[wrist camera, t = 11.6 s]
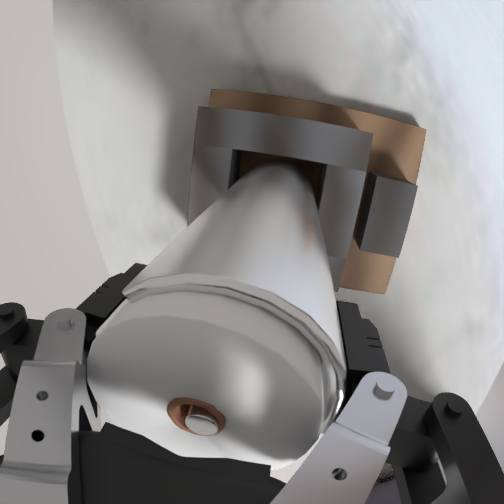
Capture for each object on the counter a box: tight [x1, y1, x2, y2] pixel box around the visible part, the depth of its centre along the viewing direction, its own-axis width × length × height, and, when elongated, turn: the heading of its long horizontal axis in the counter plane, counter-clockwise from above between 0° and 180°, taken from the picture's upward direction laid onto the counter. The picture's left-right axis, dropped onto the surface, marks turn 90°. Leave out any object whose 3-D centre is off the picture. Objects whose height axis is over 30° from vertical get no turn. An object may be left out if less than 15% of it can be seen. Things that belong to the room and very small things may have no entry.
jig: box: [187, 89, 426, 294], centre depth 29 cm, size 21×18×6 cm
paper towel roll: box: [87, 158, 348, 471], centre depth 18 cm, size 6×6×25 cm
